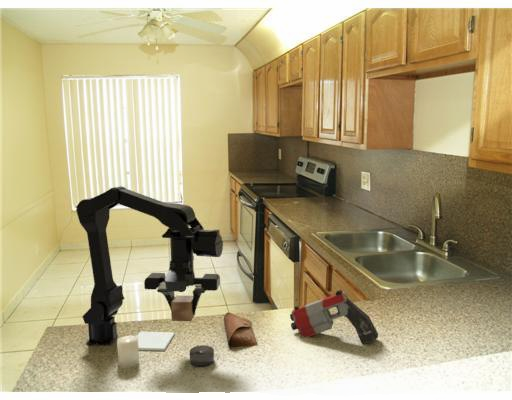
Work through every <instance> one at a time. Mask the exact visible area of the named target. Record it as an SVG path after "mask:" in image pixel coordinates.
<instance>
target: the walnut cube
mask: <svg viewBox="0 0 512 400" xmlns="http://www.w3.org/2000/svg"><path fill="white" fill-rule="evenodd" d="M192 307H193V295H178V294H177V295H175V298H174V299H173V300H172V302H171V309H170V311H171V310H172V311H171V321H172V322H192V321H193V319H194V317H195V316H196V313H195V314H193V311H192Z"/></svg>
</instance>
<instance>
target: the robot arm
mask: <svg viewBox="0 0 512 400" xmlns="http://www.w3.org/2000/svg"><path fill="white" fill-rule="evenodd" d="M118 205H120V206H123V207H125V208H129V209H132V210H134V211H136V212H137V211H138V212H139V213H140V212H141V213H142V214H146V215H148V216H150V217H153V218H155V219H156V220H158V222H160V223H161V224H162V225H163V226H165V227H166V228H167V229H166V231H165V232H164V233H163V234H162V235H161V237H162V238H163V239H169V241H170V249H169V250H170V261H169V268H168V271H167V273H166V274H165V272H151V273H150V274H149V275H148V276H147V277H146V278H144V281H143V282H144V289H145V290H156V291H157V292H158V293H161V294H162V295H163V296H164V298H165V300H166V301H167V304H168V306H169V308H170V312H172V310H171V302H172V300H173V299H174V298H175V297H176V295H175V292H178V293H184V292H185V291H186V290H187V288H189V287H190V286H192V287H193V286H194V287H195V288H194V289H193V290H192V296H193V307H192V311H193V314H195V315H196V311H197V307H198V304H199V301H200V298H201V296H202V294H204V293H205V292H208V291H210V292H211V291H212V292H213V291H214V292H215V291H218V288H219V287H220V286H221V276H220V275H219V274H218V273H204V274H203V276H202V277H196V274H195V269H194V260H195V255H196V256H197V257H206V258H207V257H209V258H220V257H222V254H223V249H224V241H223V239H222V236H221V233H220V229H205V227H204V226H203V225H202V223H201V222H200V221H199V220H198V218H197V217H196V213H195V211H194V208H193V207H191V206H190V205H187V204H182V203H176V202H175V203H173V202H166V201H165V202H164V201H160V200H159V199H155V198H152V197H150V196H148V195H145V194H142V193H139V192H137V191H134V190H130V189H128V188H126V187H125V186H121V185H120V186H115V187H110V188H109V189H108V190H106V191H104V192H103V193H101V194H98V195H96V196H94V197H91V198H90V197H89V198H85V199H81V200H80V201H79V203H78V204H77V205H76V208H75V209H76V210H75V211H76V215H77V217H78V218H77V219H78V221H79V224H80V226H82V228H83V229H84V230H85V232H86V234H87V242H88V249H89V257H90V263H91V269H92V275H93V276H92V277H93V282H94V283H93V289H92V292H91V295H90V308H89V309H88V310H87V311H86V312H85V313H84V314H83V315H82V319H83V322H84V324H86V325H87V327H88V340H87V341H86V342H85V343H86V345H92V346H93V345H95V346H96V345H97V346H98V345H99V346H103V345H104V346H109V345H111V344H112V342H113V341H115V339H116V338H117V337H118V335H119V334H118V332H117V331H118V327H117V322H116V320H115V319H116V317H115V315H116V314H118V311H119V309H120V308H121V307H122V305H123V304H124V301H123V300H125V299H126V298H125V296H124V293H123V291H124V290H123V285H122V284H121V285H117V284H116V282H115V280H114V276H113V269H112V264H111V263H112V262H111V256H110V255H111V254H110V249H109V242H108V234H107V227H108V224H109V220H110V210H111V209H114V208H115V207H116V206H118Z"/></svg>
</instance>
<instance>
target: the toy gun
mask: <svg viewBox="0 0 512 400" xmlns="http://www.w3.org/2000/svg"><path fill="white" fill-rule="evenodd" d="M333 308H336V309H337V311H336V312H334V313H331V312H330V309H333ZM342 317H345V318H347V320H348V322H350V323H351V325H352V326H353V328H354V329H355V331H356V334H357V336H358V338H359V341H360V342H361V344H369V343H373V342H375V341H376V340H377V339H378V338H379V333H378V331H377V329H376V327H375V325H374V323H373V321H372V319H371V317H370V316H369V315H368V314H367V313H366V312H364V311H363V310H362V308H360V307H359V306H357V305H356V304H355V303H354V302H352V300H350V298H349V295H348V294H347V292H346V291H343V290H342V289H339V290H336V291H335V294H333V295H330V296H327V297H324V298H321V299H319V300H317V301H313V302H311V303H308V304H304V305H302V306H300V305H296V306H294V309H292V310H291V313H290V314H289V318H290V320H291V321H292V322H291V323H290V327H291V329H292V331H295V330H298V331H297V333H298V335H299V337H301V338H308V337H311V336H312V337H313V336H314V335H317V334H321V333H323V332H326V331H329V330H331V329H333V325H334V322H335V321H334V320H336V319H339V318H342Z"/></svg>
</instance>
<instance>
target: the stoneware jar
mask: <svg viewBox="0 0 512 400" xmlns="http://www.w3.org/2000/svg"><path fill="white" fill-rule="evenodd" d="M136 336H137V335H124V336H122V337H120V338H119V337H118V339H117V340H116V343H117V347H116V348H117V364H118V367H119V368H121V369H122V368H123V369H129V368H130V369H131V368H134V367H136V366H138V365H139V363H140V352H139V351H140V350H139V345H138V337H136Z"/></svg>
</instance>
